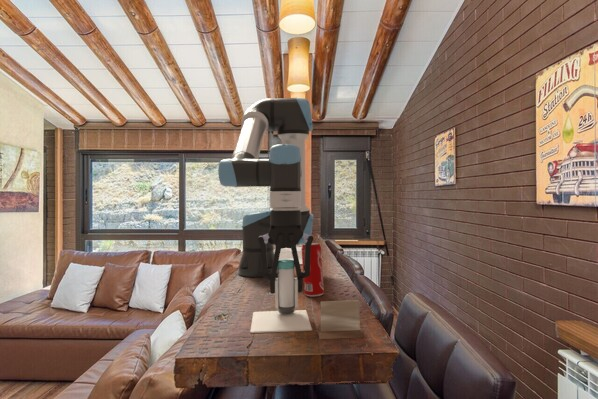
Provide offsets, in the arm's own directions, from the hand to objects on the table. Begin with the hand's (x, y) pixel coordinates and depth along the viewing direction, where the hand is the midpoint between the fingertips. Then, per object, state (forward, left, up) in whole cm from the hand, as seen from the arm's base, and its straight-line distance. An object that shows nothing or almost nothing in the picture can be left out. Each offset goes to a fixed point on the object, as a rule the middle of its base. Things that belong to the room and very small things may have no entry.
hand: (286, 305), depth 79 cm
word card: (+13, +10, -2) cm, 17 cm away
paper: (+4, -2, -2) cm, 5 cm away
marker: (0, 0, -1) cm, 1 cm away
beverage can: (-16, +8, -2) cm, 18 cm away
